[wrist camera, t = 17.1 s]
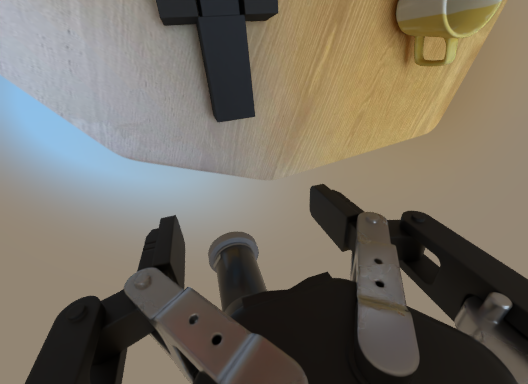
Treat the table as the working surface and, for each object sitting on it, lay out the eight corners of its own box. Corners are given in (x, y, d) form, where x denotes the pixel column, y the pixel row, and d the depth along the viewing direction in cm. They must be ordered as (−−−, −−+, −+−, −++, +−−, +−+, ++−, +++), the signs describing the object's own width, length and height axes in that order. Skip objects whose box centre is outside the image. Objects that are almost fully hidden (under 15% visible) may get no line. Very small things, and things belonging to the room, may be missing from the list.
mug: (392, -38, 33) (466, -76, 25) (444, -32, 36) (528, -65, 27) (373, 67, 40) (425, 67, 31) (418, 66, 42) (478, 65, 34)
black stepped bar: (247, 111, 37) (255, 116, 33) (213, 116, 36) (217, 122, 32) (232, -17, 29) (240, -31, 25) (188, -16, 28) (188, -31, 24)
